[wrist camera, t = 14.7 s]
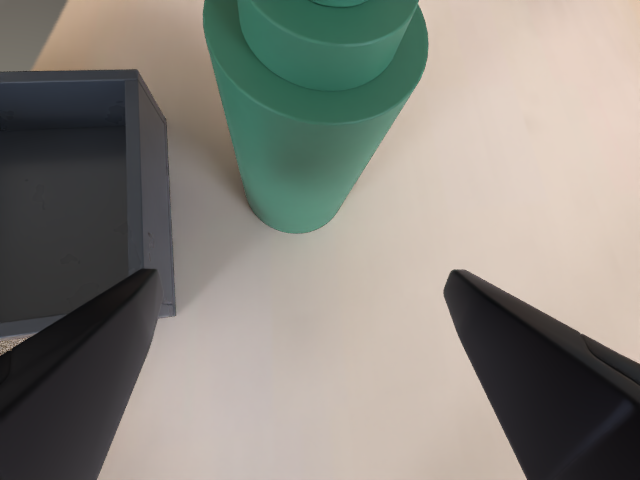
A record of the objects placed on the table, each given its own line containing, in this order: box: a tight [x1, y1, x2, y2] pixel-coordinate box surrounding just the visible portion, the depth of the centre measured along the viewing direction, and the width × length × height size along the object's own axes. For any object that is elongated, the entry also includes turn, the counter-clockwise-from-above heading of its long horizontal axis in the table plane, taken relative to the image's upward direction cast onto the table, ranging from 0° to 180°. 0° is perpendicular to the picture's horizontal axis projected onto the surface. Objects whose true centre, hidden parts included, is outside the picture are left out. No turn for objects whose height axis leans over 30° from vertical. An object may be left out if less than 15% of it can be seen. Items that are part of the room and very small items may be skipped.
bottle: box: [203, 0, 428, 233], centre depth 12 cm, size 6×6×15 cm
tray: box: [0, 69, 176, 341], centre depth 14 cm, size 12×12×4 cm
